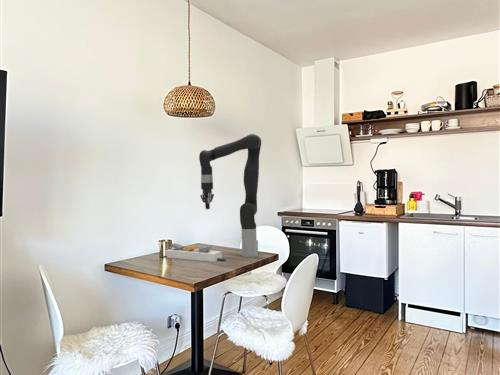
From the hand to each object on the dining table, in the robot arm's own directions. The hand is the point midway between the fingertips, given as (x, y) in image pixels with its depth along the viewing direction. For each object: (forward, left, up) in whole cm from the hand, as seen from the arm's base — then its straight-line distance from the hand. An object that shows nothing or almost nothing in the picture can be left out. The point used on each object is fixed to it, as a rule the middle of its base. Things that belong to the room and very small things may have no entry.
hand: (207, 209), depth 231 cm
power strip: (+2, +12, -29) cm, 31 cm away
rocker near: (-6, +12, -24) cm, 27 cm away
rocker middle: (+5, +12, -24) cm, 27 cm away
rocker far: (+16, +12, -24) cm, 31 cm away
